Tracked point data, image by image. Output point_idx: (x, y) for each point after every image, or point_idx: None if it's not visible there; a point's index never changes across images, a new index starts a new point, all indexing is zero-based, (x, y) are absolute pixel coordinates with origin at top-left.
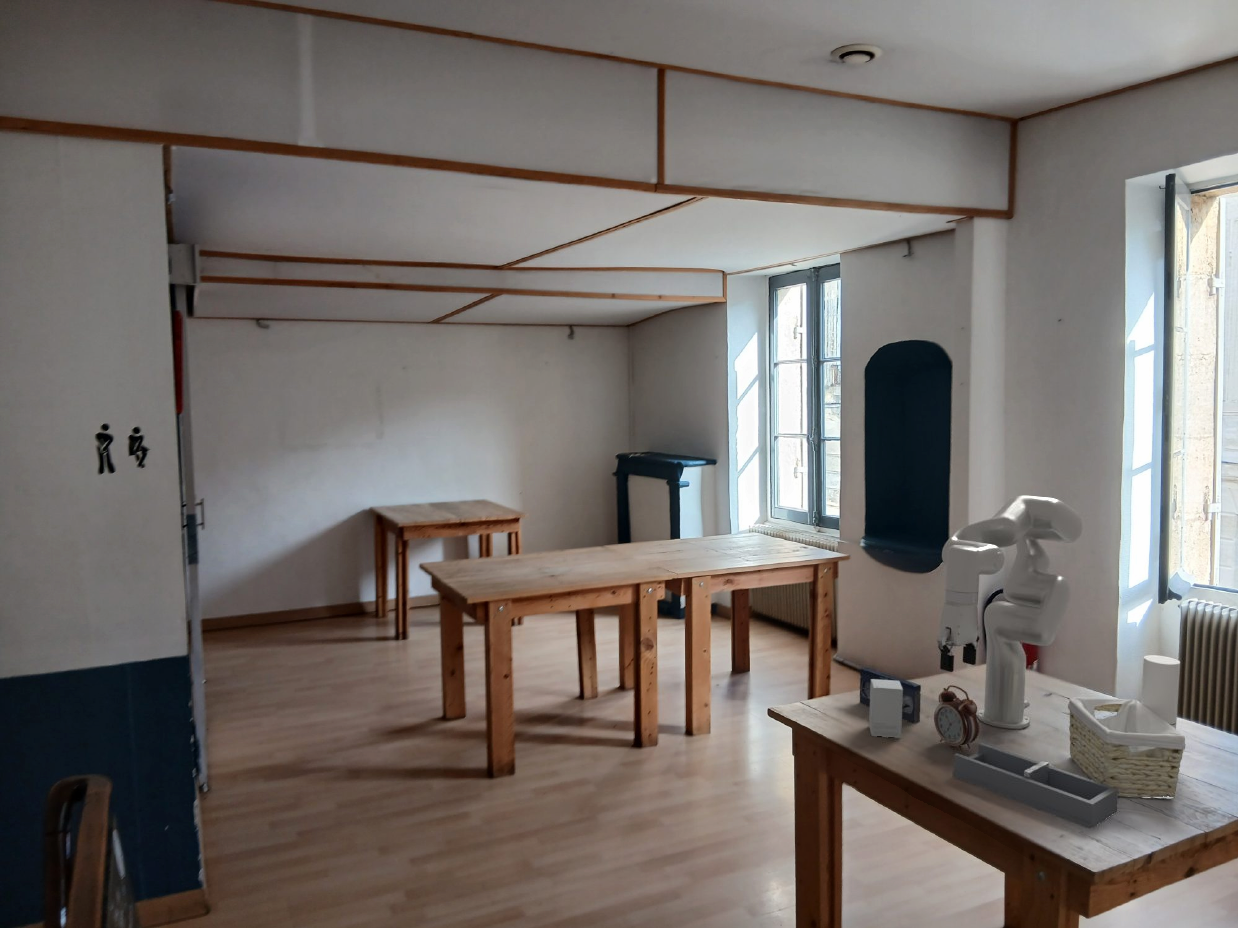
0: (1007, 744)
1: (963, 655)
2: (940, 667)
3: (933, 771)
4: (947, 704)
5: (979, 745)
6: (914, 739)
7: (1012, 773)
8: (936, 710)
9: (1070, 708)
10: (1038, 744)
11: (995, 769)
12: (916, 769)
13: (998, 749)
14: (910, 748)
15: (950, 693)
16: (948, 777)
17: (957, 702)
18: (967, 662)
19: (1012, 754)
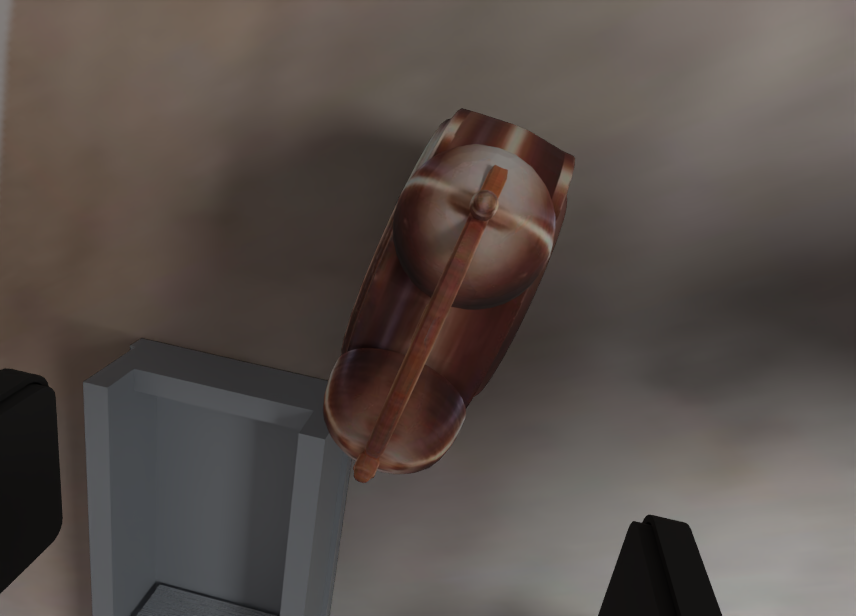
0: (683, 422)
1: (650, 612)
2: (1, 375)
3: (122, 258)
4: (375, 258)
5: (301, 432)
6: (413, 8)
7: (110, 602)
8: (430, 139)
9: None
10: (782, 531)
11: (90, 549)
12: (80, 192)
13: (303, 517)
14: (274, 54)
15: (436, 276)
16: (121, 327)
17: (415, 329)
18: (609, 592)
19: (293, 573)
